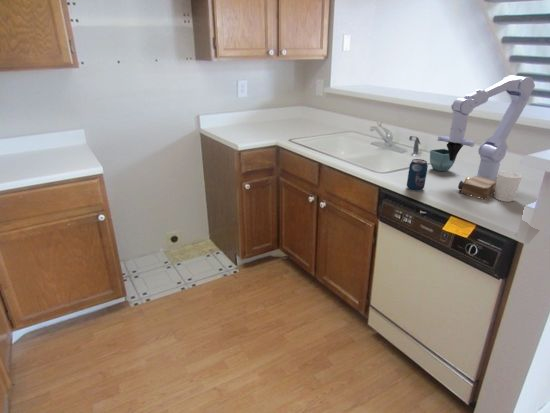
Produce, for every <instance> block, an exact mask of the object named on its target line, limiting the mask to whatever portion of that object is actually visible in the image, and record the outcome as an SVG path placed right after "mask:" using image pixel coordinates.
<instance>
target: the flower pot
mask: <svg viewBox="0 0 550 413" xmlns="http://www.w3.org/2000/svg"><path fill="white" fill-rule="evenodd" d="M457 156H458V154H457V155H456V158H455V160H454V161H450V158H449V151H448V148H447V149H446V148H438V149H431V150H430V151H429V162H430V166H431V168H432V169H434V170H435V171H439V172H445V171H449V170H450V169H451V168H452V167H453V166H454V164H455V161H456V159H457Z"/></svg>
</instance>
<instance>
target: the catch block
mask: <svg viewBox="0 0 550 413" xmlns="http://www.w3.org/2000/svg"><path fill="white" fill-rule="evenodd" d="M470 178H471V179H469V180H467V181H466V182H464V183H463V186H462V190H461V193H464V194H463V195H465V194H468V195H467V196H469V195H472V196H471V197H473V196H476V197H475V198H477V197H480V198H479V199H481V198H483V199H482V200H484V199H485V198H486V199H487V198H489V197H490V196H491V194H492V195H493V194H495V187H496V181H497V180H493V179H488V178H484V177H480V176H477V175H474V176H473V177H470ZM461 193H460V194H461ZM488 196H489V197H488ZM486 199H485V200H486Z"/></svg>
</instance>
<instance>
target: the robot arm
mask: <svg viewBox="0 0 550 413" xmlns="http://www.w3.org/2000/svg"><path fill="white" fill-rule="evenodd" d="M535 86H536V84H535V81H534V79H533V77H531V76H521V75H514V74H511V75H507V76H505V77H503V79H502V80H500V81H499V82H497V83H495V84H494V85H491V86H490V87H488V88H486V89H481V88H478V89H475V91H474V92H472V93H470V94H466V95H465V96H464V97H458V98H456V99H455V100H454V101H453V103H452V104H451V106H450V108H451V111H452V119H451V124H450V129H449V135H448V136H446V135H444V136H443V135H438V137H437V141H438V142H444V143H446V148H447V150H448V151H449V158H450V161H454V160H455V161H456V159H457V156H458V154H459V152H460V150H461V149H462V147H464V146H467V147H471V148H473V147H475V143H476V141H474V140H469V139H466V138H465V134H466V132H467V125H468V121H469V115H470V114H471V113H472V112H473V111H474V109H475V108H478V107H480V106H481V105H483V104H486V103H487V102H488V100H489V99H490V98H491V97H495V96H496V95H498V94H501V93H504V92H506V93H507V95H508V96H509V97H510V100H511V101H510V104H509V105H508V107H507V109H506V111H505V113H504V114H503V115H502V118H501V119H500V122H499V123H498V125H497V127H496V129H495V131H494V132H493V134H492V136H490V137H487V138H485V140H484V142H483V143H482V144H481V145H480V146H479V148H478V151H477V152H478V155H479V158H480V161H479V165H478V170H477V173H476V176H480V177H484V178H488V179H493V180H497V176H498V172H499V169H500V166H501V164H500V163H501V161H502V160H503V159H504V158H505V157H506V153H507V150H508V148H509V145H508V144H507V139H508V137H509V136H510V134H511V132H512V130H513V129H514V127H515V125H516V123H517V122H518V120H519V119H520V116H521V114H522V113H523V111H524V109H525V107H526V106H527V104H528V102H529V99H530V96H531V94H532V92H533V91H534V89H535ZM456 155H457V156H456ZM455 158H456V159H455Z"/></svg>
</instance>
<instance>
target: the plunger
mask: <svg viewBox="0 0 550 413" xmlns="http://www.w3.org/2000/svg"><path fill="white" fill-rule="evenodd" d="M464 182H465V180H460V181H459V183H458V187H457V188H458V190H461V191H462V186H463V183H464Z"/></svg>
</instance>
